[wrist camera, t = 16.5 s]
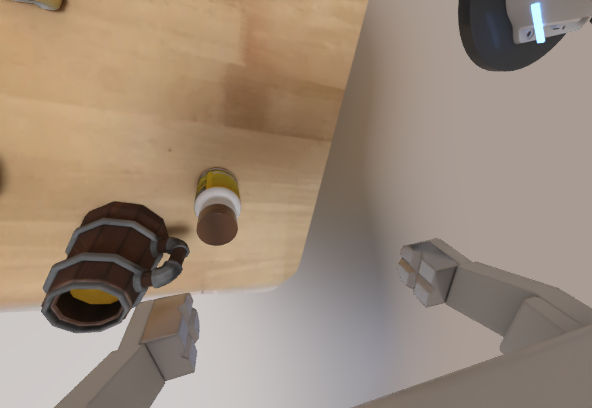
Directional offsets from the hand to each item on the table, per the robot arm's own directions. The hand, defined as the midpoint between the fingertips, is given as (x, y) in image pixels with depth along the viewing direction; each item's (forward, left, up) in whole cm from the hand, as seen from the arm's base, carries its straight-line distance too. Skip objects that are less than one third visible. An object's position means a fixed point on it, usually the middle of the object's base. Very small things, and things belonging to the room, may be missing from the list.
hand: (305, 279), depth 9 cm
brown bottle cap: (+4, +10, -21) cm, 24 cm away
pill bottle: (+4, +10, -32) cm, 34 cm away
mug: (+17, +17, -32) cm, 40 cm away
